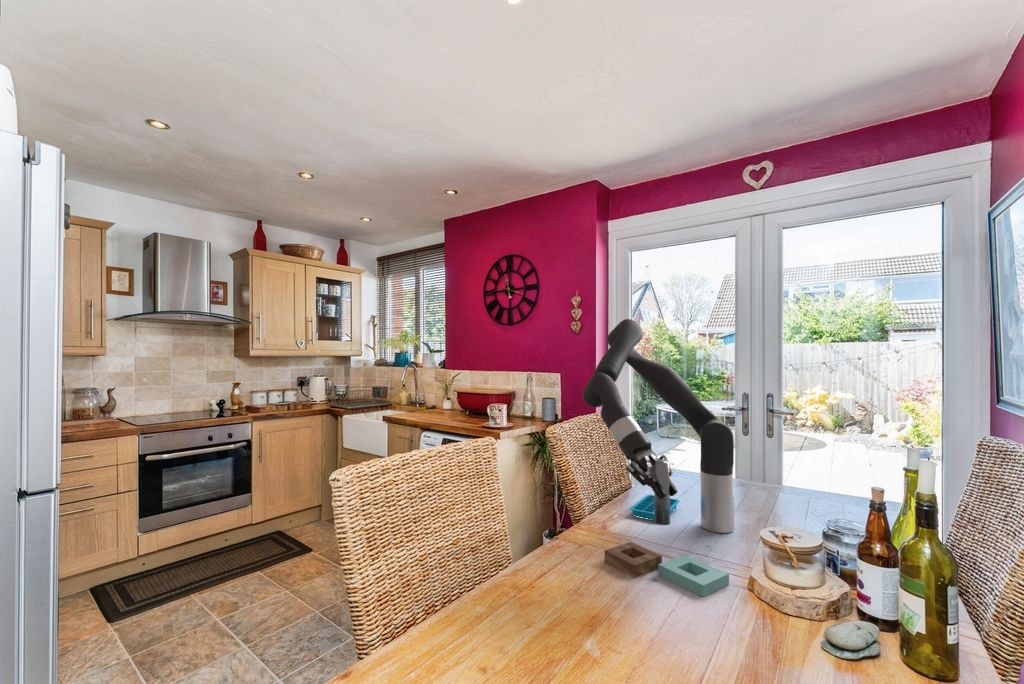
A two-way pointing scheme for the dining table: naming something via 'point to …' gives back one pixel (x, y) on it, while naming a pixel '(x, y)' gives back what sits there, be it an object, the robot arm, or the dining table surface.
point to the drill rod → (663, 478)
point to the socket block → (633, 559)
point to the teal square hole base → (700, 584)
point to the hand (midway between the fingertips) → (668, 495)
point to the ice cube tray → (650, 507)
